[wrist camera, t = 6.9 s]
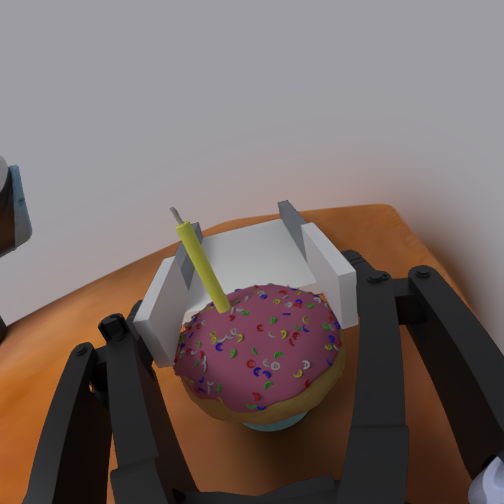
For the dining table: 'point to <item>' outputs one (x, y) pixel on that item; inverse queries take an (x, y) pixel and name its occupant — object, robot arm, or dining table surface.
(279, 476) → the dining table surface
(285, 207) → the rail board
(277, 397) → the cupcake
